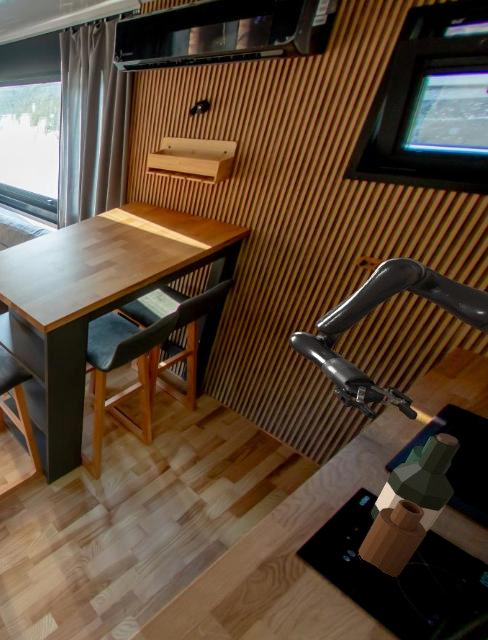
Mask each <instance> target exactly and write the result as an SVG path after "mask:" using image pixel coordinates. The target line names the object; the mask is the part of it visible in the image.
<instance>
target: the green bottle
mask: <svg viewBox="0 0 488 640" xmlns="http://www.w3.org/2000/svg"><path fill="white" fill-rule="evenodd" d="M433 436H434V435H432V436H429V438H428V439H427V441H426V443H425V445H424V446H423V445H417V446H414V447H413V448H412V449H411V451H410V454H408V456H407V458H406V460H405V462H404V463H409V462H417V461H419V460H420V459H421V457H422V455H423V453H424V452H425V450H426V448H427V446H428V445H429V443H430V441H431V439H432V438H433ZM451 465H452V460H451V461H450V463H449V464H448V466H447V468H446V469H445V471H444V474H445V475H446V473H447V472H448V470H449V468H450V467H451Z"/></svg>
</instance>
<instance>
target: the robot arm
mask: <svg viewBox="0 0 488 640" xmlns="http://www.w3.org/2000/svg"><path fill="white" fill-rule="evenodd" d="M403 291H406V292H409V293H411V294H413V295H416V296H418V297H420V298H423V299H425V300H427V301H429V302H430V303H433V304H434V305H436V306H438V307H439V308H440V309H442V310H443V311H444V312H446V313H448V314H450V315H451V316H453V317H455V318H456V319H457V320H459V321H461V322H462V323H464V324H466V325H468V326H470V327H472V328H473V329H476V330H477V331H480V332H481V333H484V334H486V335H488V292H487V291H484V290H482V289H479V288H475V287H473V286H469V285H467V284H464V283H462V282H459V281H456V280H454V279H452V278H450V277H448V276H446V275H444V274H441V273H440V272H438V271H436V270H434V269H432V268H431V267H429V266H428V265H426V264H423V263H422V262H420V261H418V260H416V259H414V258H411V257H404V256H403V257H402V256H398V257H392V258H389V259H386V260H384V261H382V262H381V263H379V264H378V265H377V266H376V268H375V270H374V271H373V273H372V274H371V275H370V276H369V277H368V279H367V280H366V281H365V282H364V283H363V284H362V285H361V286H360V287H359V288H358V289H357V290H355V291H354V292H353V293H352V294H351V295H349V296H348V297H346V298H345V299H343V300H342V301H340V302H339V303H338V304H336V305H335V306H334V307H333V308H331V309H330V310H328V311H327V312H326V313H324V315H323V316H321V317H320V318H319V319H318V320H317V321H316V322H315V324H314V326H315V328H316V329H317V330H318V331H319V332H318V334H317V335H315V334H314V333H313V334H312V333H310V332H307V331H303V330H301V331H300V330H298V331H295V332H292V333H291V334H290V336H289V337H288V344H289V345H290V348H291V349H293V351H295V352H296V353H298V354H299V355H301V356H302V357H303V358H305V359H307V360H308V361H310V362H311V363H312V364H313V365H314V366H315V367H317V368H318V369H319V371H321V372H322V373H323V374H324V375H325V376H326V378H327V379H329V380H330V382H332V383H333V384H334V385H335V386H334V389H333V392H332V394H333V395H334V396H335V397H336V398H337V399H338V401H340V403H342V405H344V407H347V408H351V407H353V408H355V409H357V410H358V411H360V412H361V413H362V414H363V415H364V416H365V417H368V418H369V420H375V419H376V417H377V412H376V411H374V410H373V408H372V407H370V406H369V405H368V404H370V403H371V404H372V403H373V404H374V403H376V404H382V405H384V406H386V407H393V408H395V409H397V410H398V411H399V412H400V413H402V414H403V415H404V416H405V417H407V418H408V419H409V420H411V421H413V420H416V419H417V417H418V414H419V413H418V412H417V411H416V410H415V409H414V408H412V406H411V405H412V403H413V402H414V400H413V399H412V398H410V397H409V396H407V395H406V394H404V393H403V392H402V391H400V390H399V389H398V388H396V387H394V386H393V385H390V386H388V388H382V387H380V386H378V385H377V384H376V383H375V381H374V379H373V378H371V377H370V376H369V375H367V374H366V373H365V372H364V371H363V370H362V369H360V368H359V367H358V366H357V365H355V364H354V363H352V362H351V361H349V360H347V359H346V358H345V357H344V356H343V355H341V354H340V353H339V352H337V351H335V350H334V349H333V348H334V347H335V345H336V343H337V342H338V341H339V340H340V338H341V337H342V336H343V335H344V334H345V333H347V332H348V331H350V330H351V329H352V328H354V326H356V325H357V324H359V323H360V322H361V321H362V320H364V319H365V318H366V317H367V316H368V315H369V314H370V313H371V312H372V311H373V310H374V309H376V308H377V307H379V306H380V305H381V304H383V303H384V302H385V301H387V300H389V299H390V298H392V297H394V296H395V295H398V294H400V293H402V292H403ZM385 397H387V400H385ZM353 398H354V399H353ZM395 402H396V403H395Z"/></svg>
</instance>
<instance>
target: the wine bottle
mask: <svg viewBox="0 0 488 640" xmlns="http://www.w3.org/2000/svg"><path fill="white" fill-rule="evenodd" d="M432 436H433V438H432V439H431V441H430V443H429V445H428V446H427V448H426V450H425V452H424V453H423V455H422V457H421V459H420V460H419V461H417V462H409V463H405V462H404V463H403V462H402V463H400V464H399V465H397V466H396V467H395V468H394V469H393V470H392V471H391V473H390V475H389V477H388V479H387V480H386V482H385V484H384V486H383V488H382V490H381V492H380V494H379V495H378V498H377V500H376V501H375V503H374V505H373V507H372V509H371V511H370V513H371V515H372V518H373V519H374V521H375V519H376V518H377V516H378V514H379V512H380V511H381V510H382V509H383V508H393V509H395V507H396V505H397V503H398V502H399V500H409V501H411V502H413V503H415V504H417V505H418V506H420V507H421V508H422V509H423V511H424V516H423V517H422V519H421V520H420V523H421V524H422V526H423V527H424V528H425V531H426V535H427V534H428V533H429V531H430V529H432V527H433V525H434V524H435V522H436V521H437V519H438V517H439V516H440V515H441V513H442V512H443V510H444V509H445V508H446V506H447V504H448V503H449V502H450V500H451V498H452V497H453V495H454V494H455V490H454V488H453V487H452V485H451V483H450V481H449V480H448V478H447V476H446V473H445V474H444V471H445V469H446V468H447V466H448V464H449V463H450V461H451V462H452V460H453V458H454V457H455V455H456V453H457V452H458V450H459V449H460V447H461V444H460V443H459V439H457V437H455V436H452V434H451V435H450V434H449V433H443V432H440V433H438V434H437V433H436V434H435V435H432ZM372 518H371V519H372ZM373 519H372V520H373ZM374 521H373V522H374Z"/></svg>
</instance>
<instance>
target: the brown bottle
mask: <svg viewBox="0 0 488 640" xmlns="http://www.w3.org/2000/svg"><path fill="white" fill-rule="evenodd" d="M423 516H424V511H423V509H422V508H421V507H420V506H418V505H417V504H415V503H413V502H411V501H409V500H399V502H398V503H397V505H396V507H395V509H393V508H383V509H382V510H381V511H380V512H379V514H378V516H377V518H376V519H375V521H373V523H372V525H371V527H370V528H369V530H368V532H367V534H366V536H365V537H364V539H363V541H362V543H361V545H360V547H359V549H358V552H359V554H358V556H359V555H360V556H361V558H362V559H363V560H365V561H367V562H369V563H371V564H372V565H374V566H376V567H377V568H378V569H380V570H381V571H382V572H383V573H385V574H388V575H390V576H392V577H396V578H398V577H399V576H400V575H401V573H402V571H403V570H404V569H405V568H406V565H408V563H409V561H410V559H411V558H412V557H413V555H414V553H416V551H417V549H418V548H419V546H420V545H421V543H422V541H423V540H424V539H425V537H426V536H427V534H426V531H425V528H424V527H423V526H422V524H421V523H420V520H421V519H422V517H423ZM398 575H399V576H398ZM397 576H398V577H397Z"/></svg>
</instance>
